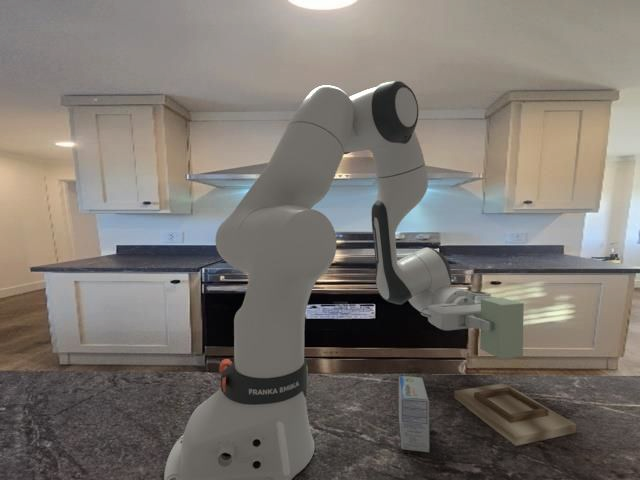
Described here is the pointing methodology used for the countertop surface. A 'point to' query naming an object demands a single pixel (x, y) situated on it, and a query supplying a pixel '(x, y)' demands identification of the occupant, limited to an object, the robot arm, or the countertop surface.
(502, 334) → the sage block
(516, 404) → the birch board
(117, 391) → the countertop surface
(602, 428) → the countertop surface
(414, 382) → the medicine box
